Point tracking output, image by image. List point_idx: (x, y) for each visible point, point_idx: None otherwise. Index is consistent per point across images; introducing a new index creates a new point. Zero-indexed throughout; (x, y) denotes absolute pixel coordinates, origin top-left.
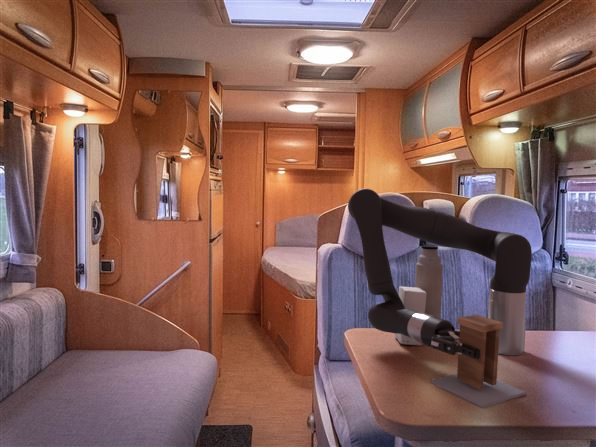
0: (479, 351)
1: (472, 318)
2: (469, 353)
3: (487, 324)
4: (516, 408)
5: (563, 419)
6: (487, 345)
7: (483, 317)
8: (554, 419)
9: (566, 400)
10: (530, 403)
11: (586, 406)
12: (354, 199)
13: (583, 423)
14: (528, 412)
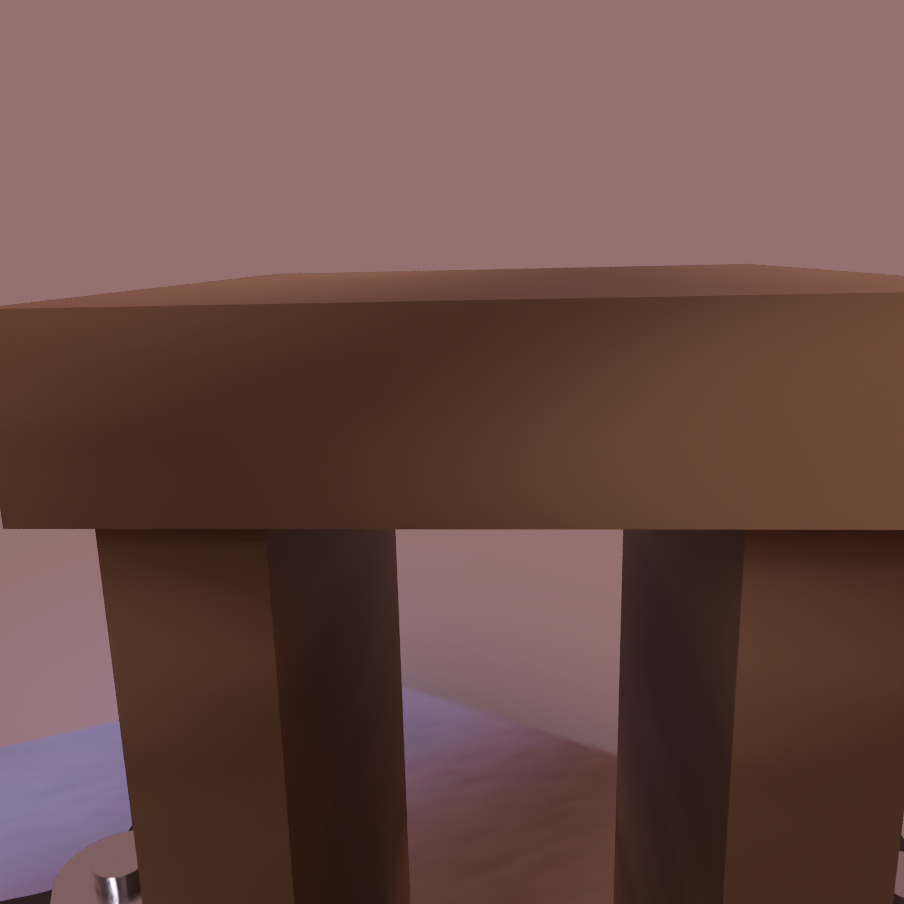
0: None
1: (566, 283)
2: None
3: (617, 267)
4: (537, 878)
5: (410, 721)
6: (377, 736)
7: (188, 290)
8: (455, 736)
9: (86, 801)
10: None
11: (109, 733)
12: None
13: None
14: (513, 820)
